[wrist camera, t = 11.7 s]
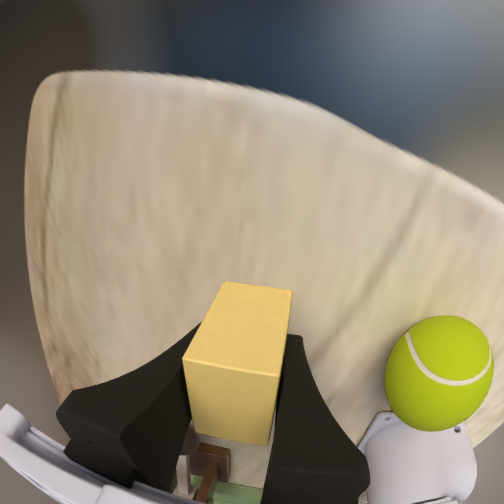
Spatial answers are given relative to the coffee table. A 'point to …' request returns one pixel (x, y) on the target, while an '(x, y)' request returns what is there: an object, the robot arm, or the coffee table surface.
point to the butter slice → (238, 362)
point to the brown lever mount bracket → (207, 470)
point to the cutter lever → (186, 466)
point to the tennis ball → (439, 373)
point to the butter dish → (232, 493)
